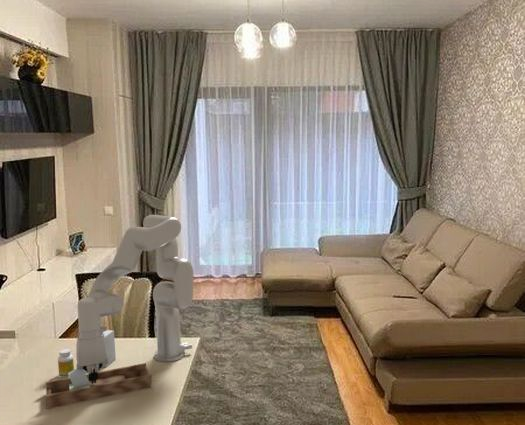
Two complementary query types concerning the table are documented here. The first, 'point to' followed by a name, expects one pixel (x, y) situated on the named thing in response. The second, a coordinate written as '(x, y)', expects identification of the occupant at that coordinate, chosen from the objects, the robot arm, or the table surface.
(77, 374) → the block
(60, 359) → the supplement bottle
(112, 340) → the supplement box
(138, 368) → the box
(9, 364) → the table surface
